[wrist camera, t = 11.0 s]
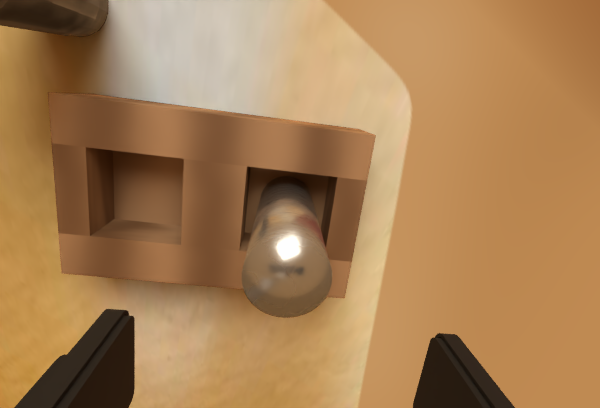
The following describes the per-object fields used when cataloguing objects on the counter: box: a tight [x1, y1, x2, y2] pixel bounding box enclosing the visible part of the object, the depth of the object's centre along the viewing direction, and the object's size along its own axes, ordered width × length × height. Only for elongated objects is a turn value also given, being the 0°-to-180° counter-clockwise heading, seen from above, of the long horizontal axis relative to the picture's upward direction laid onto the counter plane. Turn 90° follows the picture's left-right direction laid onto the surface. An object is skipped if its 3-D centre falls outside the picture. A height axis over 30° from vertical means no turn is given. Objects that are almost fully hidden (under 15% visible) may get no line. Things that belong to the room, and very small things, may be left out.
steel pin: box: [242, 176, 332, 317], centre depth 21 cm, size 4×4×12 cm
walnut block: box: [48, 92, 376, 298], centre depth 25 cm, size 20×12×5 cm, turn 83°
